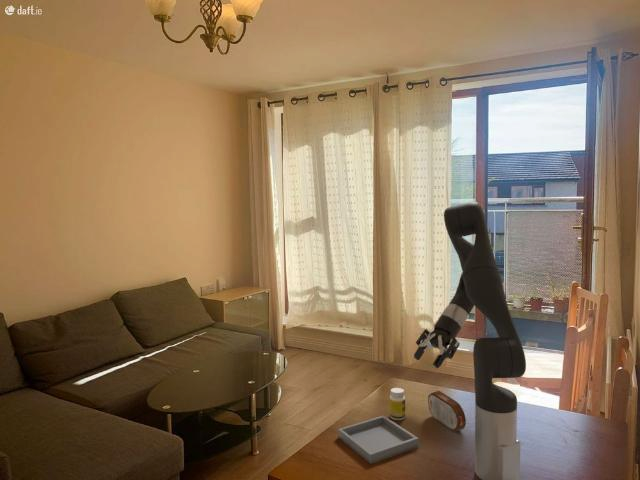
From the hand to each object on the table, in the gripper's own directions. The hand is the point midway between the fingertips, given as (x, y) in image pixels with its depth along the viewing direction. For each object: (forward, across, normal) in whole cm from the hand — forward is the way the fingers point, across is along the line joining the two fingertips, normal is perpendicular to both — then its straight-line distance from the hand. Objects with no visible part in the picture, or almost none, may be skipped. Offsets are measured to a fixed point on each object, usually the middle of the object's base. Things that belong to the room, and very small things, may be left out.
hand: (425, 362), depth 149 cm
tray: (+29, +9, -8) cm, 31 cm away
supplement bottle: (+19, 0, +2) cm, 19 cm away
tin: (+13, +11, +8) cm, 19 cm away
